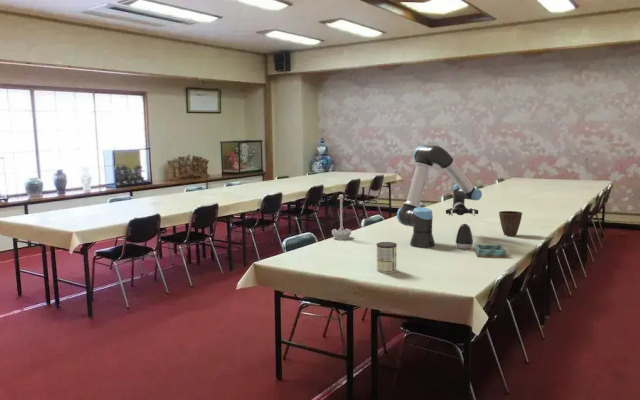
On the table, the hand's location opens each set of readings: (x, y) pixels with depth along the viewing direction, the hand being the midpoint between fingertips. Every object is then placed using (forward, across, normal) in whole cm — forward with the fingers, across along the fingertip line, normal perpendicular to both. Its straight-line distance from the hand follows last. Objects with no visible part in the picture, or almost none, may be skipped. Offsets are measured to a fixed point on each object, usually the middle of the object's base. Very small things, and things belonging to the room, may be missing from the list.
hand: (463, 213), depth 336 cm
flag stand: (-12, +79, -20) cm, 82 cm away
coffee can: (+72, +45, -19) cm, 87 cm away
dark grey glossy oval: (+12, 0, -20) cm, 23 cm away
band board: (+27, -13, -20) cm, 35 cm away
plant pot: (-34, -35, -20) cm, 53 cm away
